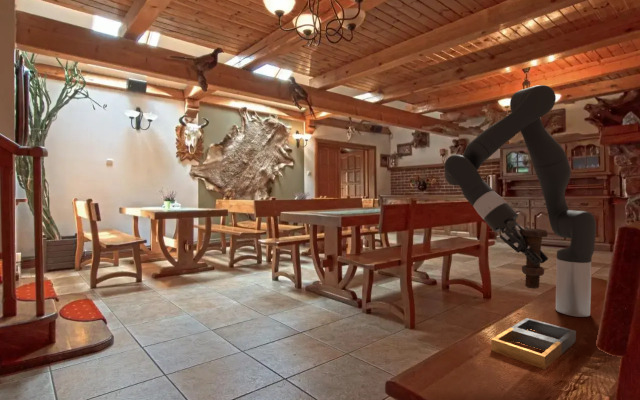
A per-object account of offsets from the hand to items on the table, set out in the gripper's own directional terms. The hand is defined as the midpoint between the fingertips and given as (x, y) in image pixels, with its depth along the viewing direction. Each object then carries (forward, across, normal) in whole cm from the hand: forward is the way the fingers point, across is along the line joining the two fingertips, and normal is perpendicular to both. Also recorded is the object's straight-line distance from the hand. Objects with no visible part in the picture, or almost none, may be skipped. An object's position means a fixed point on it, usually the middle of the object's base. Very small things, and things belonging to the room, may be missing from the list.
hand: (541, 262), depth 89 cm
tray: (+15, +1, +17) cm, 22 cm away
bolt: (+4, 0, +6) cm, 7 cm away
